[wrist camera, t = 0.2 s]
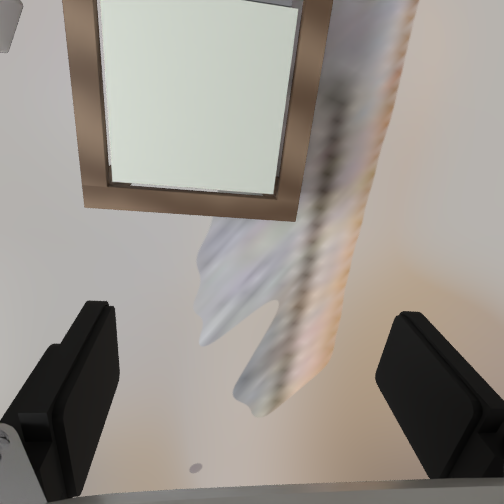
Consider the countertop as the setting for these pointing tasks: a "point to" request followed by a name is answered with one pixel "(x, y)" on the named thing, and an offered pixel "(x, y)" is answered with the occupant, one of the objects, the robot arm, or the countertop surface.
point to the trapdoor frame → (175, 200)
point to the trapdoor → (197, 90)
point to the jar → (8, 22)
